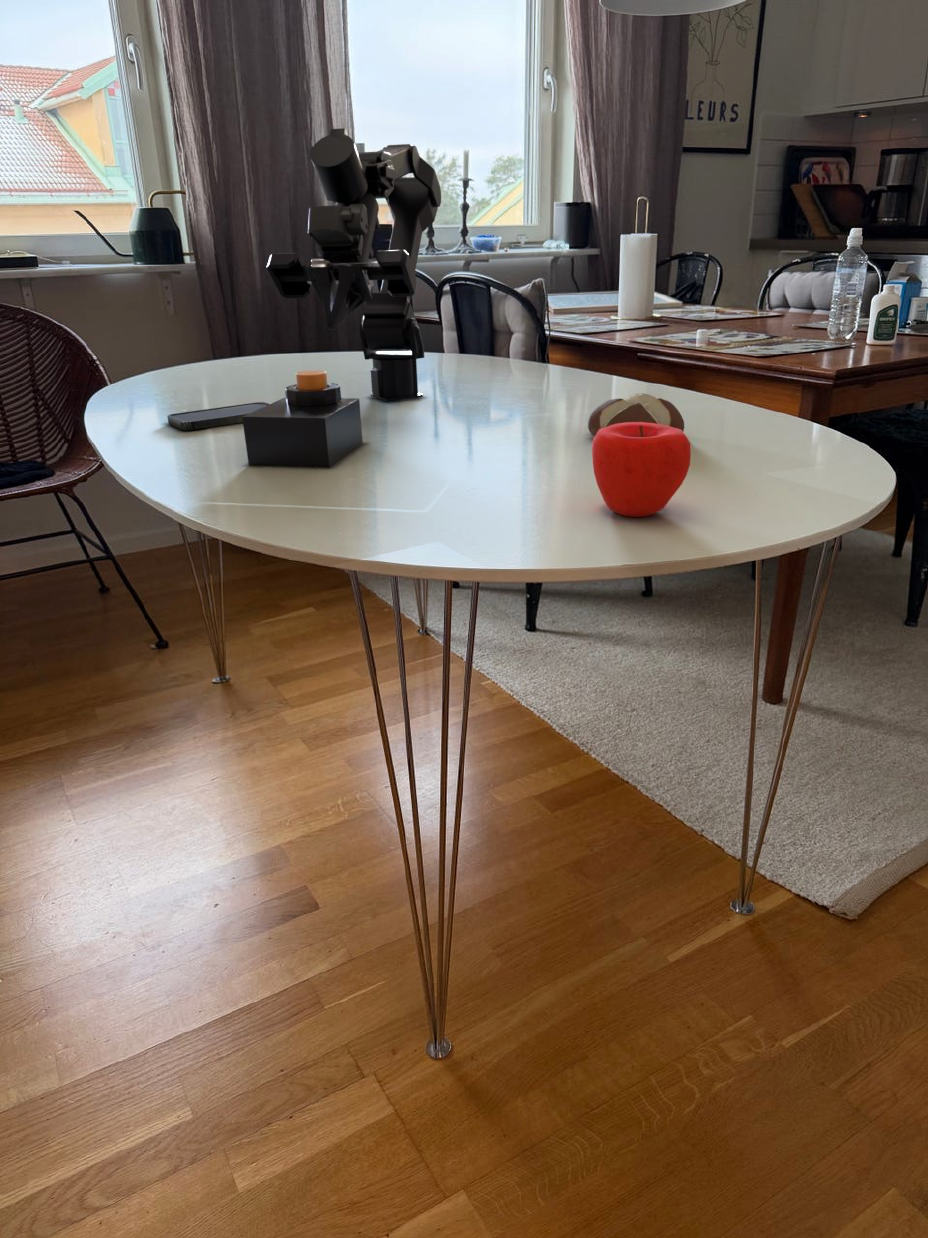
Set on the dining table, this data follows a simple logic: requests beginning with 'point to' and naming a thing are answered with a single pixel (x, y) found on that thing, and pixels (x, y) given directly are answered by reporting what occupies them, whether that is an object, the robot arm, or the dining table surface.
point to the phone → (213, 416)
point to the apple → (639, 466)
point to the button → (311, 380)
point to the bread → (635, 412)
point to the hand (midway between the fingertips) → (330, 327)
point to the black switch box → (304, 429)
